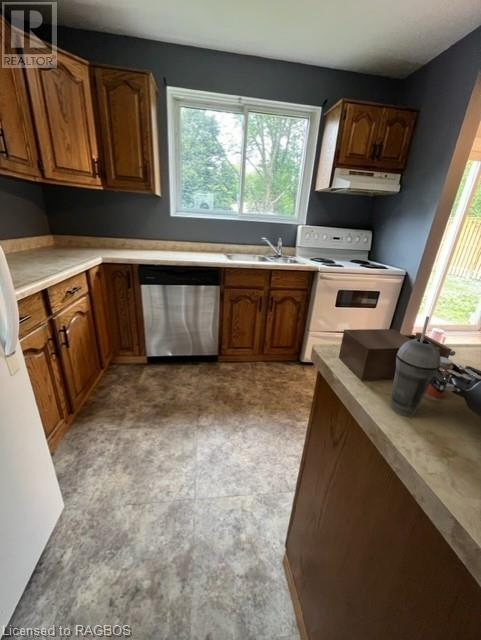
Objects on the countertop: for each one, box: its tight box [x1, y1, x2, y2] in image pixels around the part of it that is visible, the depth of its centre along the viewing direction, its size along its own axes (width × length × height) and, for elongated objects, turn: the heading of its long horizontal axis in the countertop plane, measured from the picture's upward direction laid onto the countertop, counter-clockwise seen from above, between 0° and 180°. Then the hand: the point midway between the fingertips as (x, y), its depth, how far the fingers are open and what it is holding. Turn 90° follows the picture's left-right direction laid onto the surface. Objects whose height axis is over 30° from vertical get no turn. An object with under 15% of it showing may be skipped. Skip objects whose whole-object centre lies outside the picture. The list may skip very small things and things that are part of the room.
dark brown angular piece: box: [401, 332, 456, 359], centre depth 72 cm, size 18×10×7 cm, turn 98°
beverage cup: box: [389, 315, 441, 418], centre depth 52 cm, size 7×7×20 cm
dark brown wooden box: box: [338, 328, 411, 382], centre depth 70 cm, size 15×12×9 cm
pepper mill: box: [425, 357, 453, 398], centre depth 61 cm, size 4×4×8 cm
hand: (430, 361), depth 63 cm, fingers closed on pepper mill, 4 cm apart
